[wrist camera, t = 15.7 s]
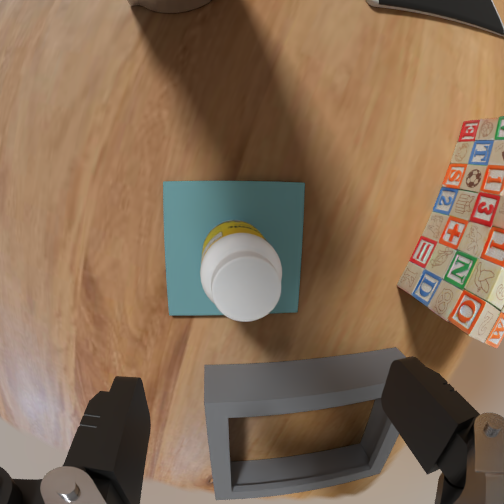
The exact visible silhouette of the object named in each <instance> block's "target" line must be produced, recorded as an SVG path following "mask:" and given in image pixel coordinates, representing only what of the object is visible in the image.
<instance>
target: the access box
mask: <svg viewBox="0 0 504 504" xmlns="http://www.w3.org/2000/svg"><path fill="white" fill-rule="evenodd" d="M403 358H406V357H405V356H404V355H403V354H402V353H401V352H400V351H399V350H398V349H397V348H396V347H394V348H389V349H383V350H377V351H370V352H364V353H357V354H349V355H342V356H334V357H325V358H316V359H306V360H295V361H283V362H269V363H252V364H228V365H205V376H204V405H205V415H206V425H207V435H208V444H209V452H210V460H211V468H212V476H213V483H214V491H215V497H216V500H226V499H227V500H228V499H246V498H258V497H268V496H277V495H284V494H291V493H298V492H304V491H310V490H315V489H320V488H325V487H330V486H334V485H339V484H343V483H347V482H351V481H355V480H358V479H362V478H366V477H369V476H373V475H376V474H379V473H380V472H381V470H382V468H383V466H384V464H385V462H386V460H387V458H388V456H389V454H390V452H391V450H392V448H393V446H394V444H395V442H396V439H397V437H398V435H399V432H398V431H397V430H396V428H395V427H394V425H393V424H392V422H391V421H390V419H389V418H388V416H387V415H386V414H385V412H384V410H383V408H382V404H381V396H382V392H383V389H384V386H385V383H386V379H387V376H388V373H389V369H390V366H391V364H392V362H393V361H394V360H398V359H403ZM373 399H375V402H374V405H373V408H372V411H371V414H370V417H369V420H368V423H367V426H366V429H365V431H364V434H363V437H362V440H361V442H360V443H359V444H355V445H351V446H346V447H342V448H337V449H332V450H327V451H321V452H316V453H310V454H303V455H296V456H289V457H281V458H272V459H262V460H250V461H233V462H230V451H229V428H228V418H238V417H255V416H268V415H279V414H288V413H297V412H305V411H312V410H319V409H326V408H332V407H338V406H343V405H349V404H354V403H359V402H364V401H369V400H373Z"/></svg>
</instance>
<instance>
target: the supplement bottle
mask: <svg viewBox="0 0 504 504" xmlns="http://www.w3.org/2000/svg"><path fill="white" fill-rule="evenodd" d="M200 277H201V283H202V287H203V289H204V291H205V293H206V295H207V296H208V298H209V299H210V300H211V301H212V302H213V303H214V304H215V305H216V307H217V308H218V309H219V311H220V312H221V313H222V314H224V315H225V316H226V317H228V318H230V319H233V320H236V321H241V322H249V321H255V320H258V319H260V318H262V317H264V316H266V315H267V314H269V313H270V312H271V311H272V310H273V309H274V307H275V306H276V304H277V303H278V301H279V298H280V295H281V279H282V266H281V262H280V259H279V256H278V254H277V253H276V251H275V250H274V248H273V247H272V246H271V244H270V243H269V242H268V241H267V240H266V239H265V238H264V236H263V235H262V234H261V233H260V232H259V231H258V230H257V229H256V228H255V227H254V226H253V225H251V224H249V223H247V222H244V221H240V220H229V221H225V222H222V223H220V224H218V225H217V226H215V227H214V228H213V229H212V230H211V231H210V232H209V233H208V235H207V237H206V239H205V241H204V244H203V248H202V258H201V268H200Z"/></svg>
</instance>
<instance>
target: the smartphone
mask: <svg viewBox="0 0 504 504" xmlns="http://www.w3.org/2000/svg"><path fill="white" fill-rule="evenodd" d="M366 2H367V3H368V4H369V5H371V6H374V7H382V8H390V9H397V10H403V11H409V12H415V13H420V14H425V15H430V16H435V17H439V18H443V19H447V20H451V21H455V22H459V23H463V24H466V25H470V26H473V27H476V28H479V29H483V30H486V31H489V32H491V33H494V34H497V35H500V36H504V26H503V23H502V21H501V18H500V16H499V14H498V12H497V9H496V7H495V5H494V3H493V1H492V0H366Z"/></svg>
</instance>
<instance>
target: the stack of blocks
mask: <svg viewBox="0 0 504 504" xmlns="http://www.w3.org/2000/svg"><path fill="white" fill-rule="evenodd" d="M397 286H398V287H399V288H401V289H402V290H404V291H405V292H407V293H408V294H410V295H412V296H413V297H414V298H416V299H417V300H418V301H420V302H421V303H423V304H424V305H425V306H427V307H428V308H429V309H430V310H431V311H433V312H434V313H436V314H437V315H438V316H440V317H441V318H442V319H444V320H445V321H447V322H449V323H451V324H454V325H455V326H456V327H458V328H459V329H461V330H462V331H463V332H465V333H466V334H467V335H469V336H471V337H473V338H475V339H477V340H479V341H481V342H484V343H486V344H488V345H490V346H492V347H494V348H498V346H499V345H500V343H501V341H502V339H503V337H504V116H501V117H499V118H487V119H481V120H470V121H464V122H463V126H462V129H461V133H460V136H459V140H458V142H457V144H456V147H455V150H454V153H453V156H452V159H451V164H450V165H449V168H448V170H447V173H446V176H445V178H444V181H443V184H442V188H441V190H440V193H439V196H438V198H437V201H436V203H435V206H434V208H433V212H432V213H431V216H430V218H429V220H428V223H427V225H426V227H425V229H424V232H423V234H422V236H421V237H420V239H419V242H418V244H417V246H416V248H415V250H414V252H413V254H412V256H411V258H410V261H409V262H408V264H407V266H406V268H405V270H404V272H403V274H402V276H401V278H400V280H399V282H398V284H397Z"/></svg>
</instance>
